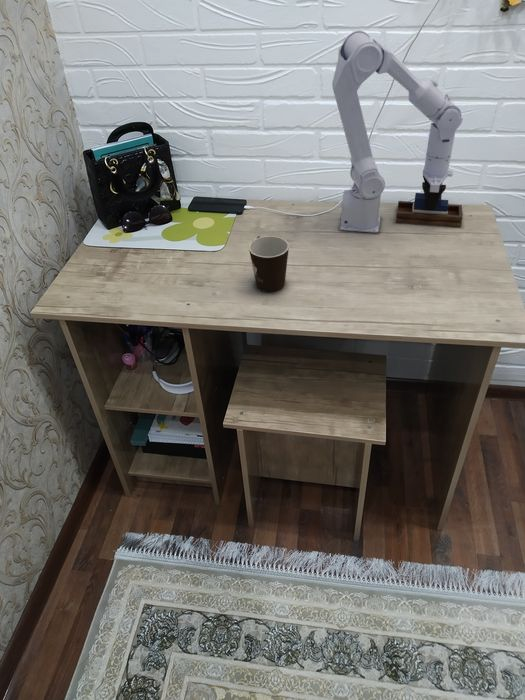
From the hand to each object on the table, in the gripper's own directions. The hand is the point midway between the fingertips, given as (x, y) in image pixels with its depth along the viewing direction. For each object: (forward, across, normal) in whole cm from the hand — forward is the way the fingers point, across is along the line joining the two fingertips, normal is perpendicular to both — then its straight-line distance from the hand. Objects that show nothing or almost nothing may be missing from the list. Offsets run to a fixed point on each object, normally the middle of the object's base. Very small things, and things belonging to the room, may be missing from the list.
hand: (430, 205), depth 145 cm
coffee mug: (+4, -34, +34) cm, 48 cm away
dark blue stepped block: (+1, 0, 0) cm, 1 cm away
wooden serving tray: (+3, 0, 0) cm, 3 cm away
